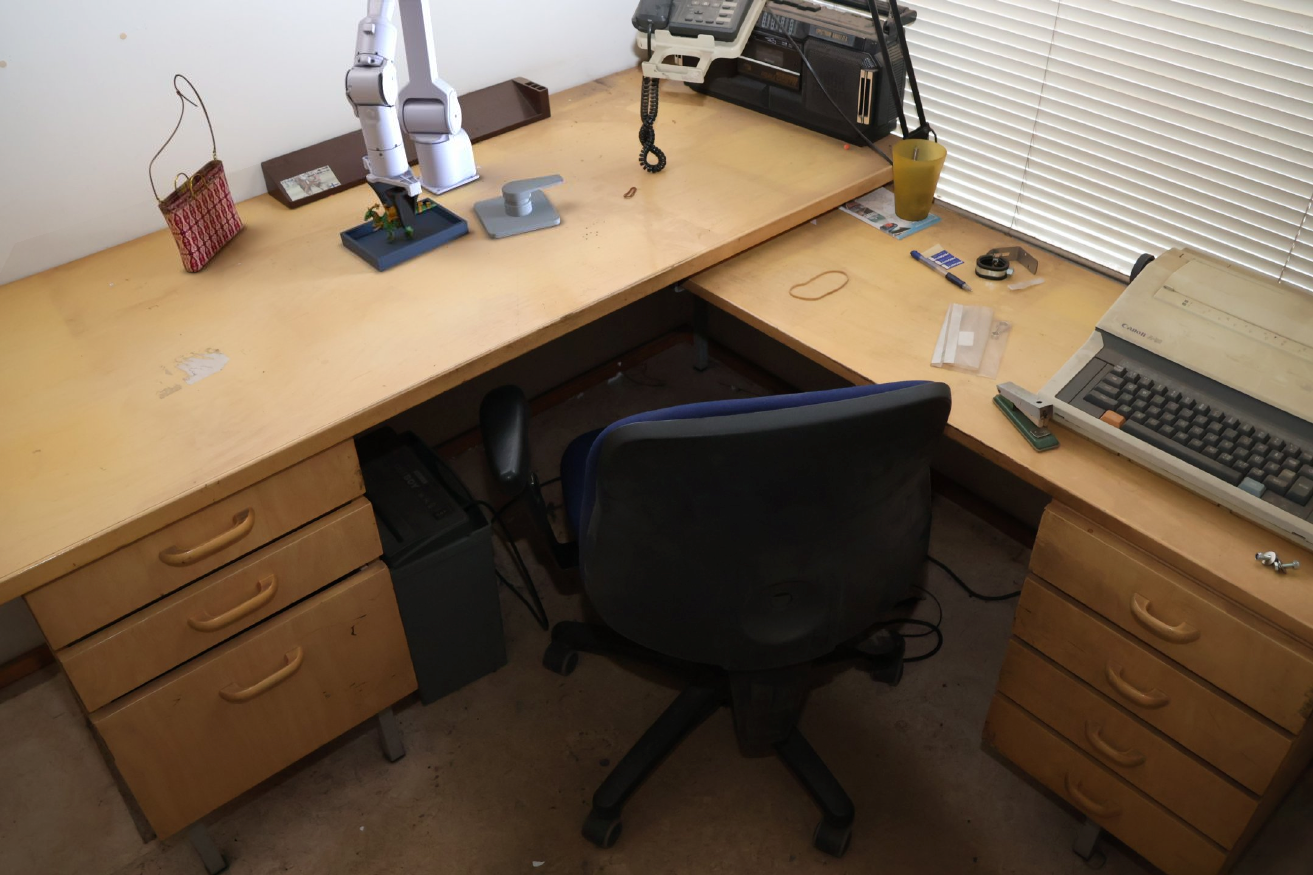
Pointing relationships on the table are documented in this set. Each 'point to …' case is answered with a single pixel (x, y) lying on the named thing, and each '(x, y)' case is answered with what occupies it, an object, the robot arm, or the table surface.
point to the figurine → (392, 219)
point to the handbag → (200, 208)
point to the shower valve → (519, 208)
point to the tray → (427, 234)
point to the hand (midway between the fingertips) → (402, 221)
